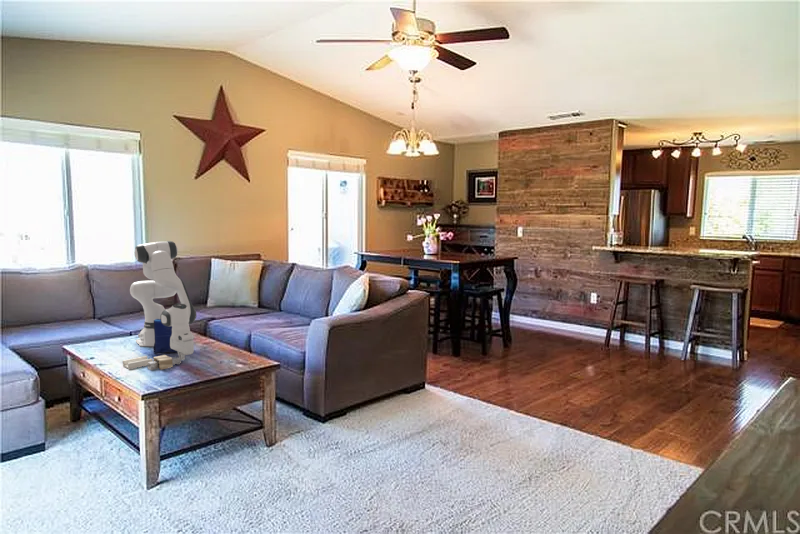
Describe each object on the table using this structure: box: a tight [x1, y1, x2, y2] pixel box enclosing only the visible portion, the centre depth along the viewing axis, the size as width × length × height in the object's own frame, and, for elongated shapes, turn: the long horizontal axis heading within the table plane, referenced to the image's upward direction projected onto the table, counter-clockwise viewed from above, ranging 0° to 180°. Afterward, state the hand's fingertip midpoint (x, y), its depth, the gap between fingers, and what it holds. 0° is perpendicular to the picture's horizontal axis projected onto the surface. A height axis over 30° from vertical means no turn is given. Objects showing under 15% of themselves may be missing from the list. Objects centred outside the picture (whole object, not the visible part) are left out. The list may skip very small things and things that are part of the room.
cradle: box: [122, 355, 154, 370], centre depth 276 cm, size 8×12×3 cm, turn 138°
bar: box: [147, 355, 182, 371], centre depth 275 cm, size 4×16×4 cm, turn 138°
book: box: [153, 319, 178, 355], centre depth 298 cm, size 14×5×20 cm, turn 105°
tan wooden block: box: [152, 354, 174, 371], centre depth 273 cm, size 9×6×5 cm
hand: (181, 359), depth 281 cm, fingers closed
